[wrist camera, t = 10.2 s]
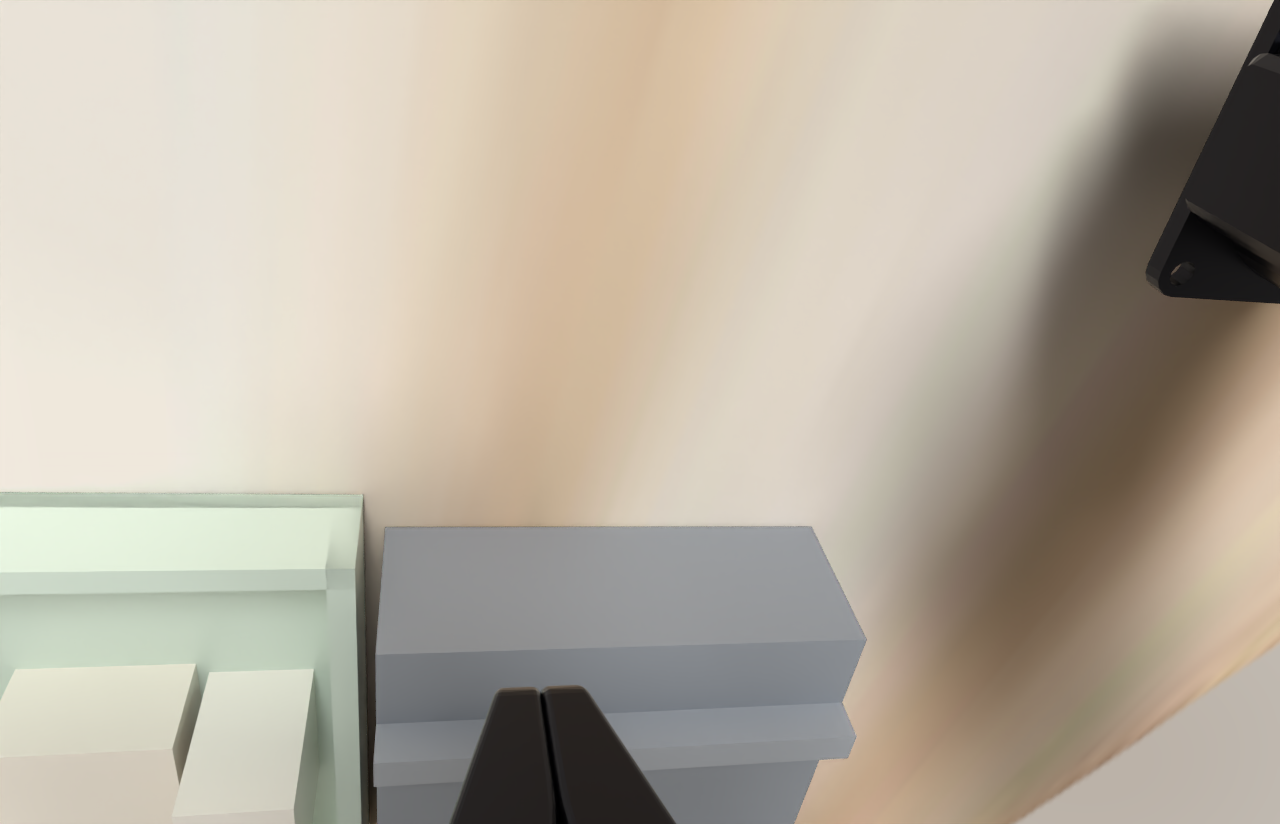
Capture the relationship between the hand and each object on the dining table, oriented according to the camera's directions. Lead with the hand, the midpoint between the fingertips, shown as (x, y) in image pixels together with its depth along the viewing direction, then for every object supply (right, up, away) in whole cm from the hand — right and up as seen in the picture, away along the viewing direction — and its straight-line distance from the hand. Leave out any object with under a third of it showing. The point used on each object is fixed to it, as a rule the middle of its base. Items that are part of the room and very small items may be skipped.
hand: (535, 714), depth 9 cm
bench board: (-1, -5, +18) cm, 19 cm away
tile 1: (-12, -6, +13) cm, 19 cm away
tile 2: (-7, -7, +15) cm, 18 cm away
